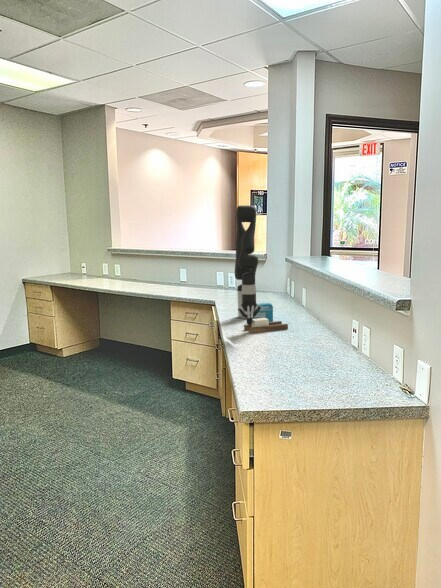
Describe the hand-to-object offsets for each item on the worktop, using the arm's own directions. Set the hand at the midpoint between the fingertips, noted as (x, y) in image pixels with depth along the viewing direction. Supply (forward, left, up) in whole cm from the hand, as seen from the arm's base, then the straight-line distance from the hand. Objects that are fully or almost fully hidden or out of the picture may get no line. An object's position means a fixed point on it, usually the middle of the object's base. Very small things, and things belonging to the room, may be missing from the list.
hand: (249, 324), depth 227 cm
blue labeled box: (-18, +16, -5) cm, 24 cm away
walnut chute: (0, +10, -5) cm, 11 cm away
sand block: (0, +6, -4) cm, 7 cm away
